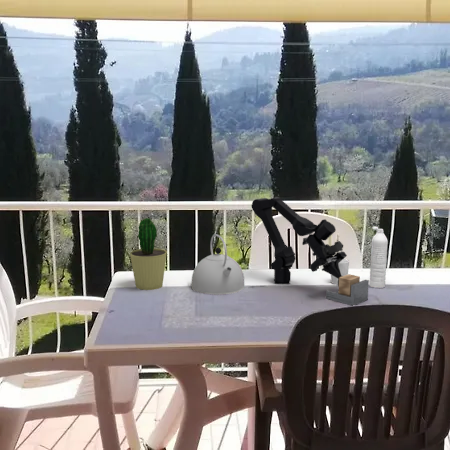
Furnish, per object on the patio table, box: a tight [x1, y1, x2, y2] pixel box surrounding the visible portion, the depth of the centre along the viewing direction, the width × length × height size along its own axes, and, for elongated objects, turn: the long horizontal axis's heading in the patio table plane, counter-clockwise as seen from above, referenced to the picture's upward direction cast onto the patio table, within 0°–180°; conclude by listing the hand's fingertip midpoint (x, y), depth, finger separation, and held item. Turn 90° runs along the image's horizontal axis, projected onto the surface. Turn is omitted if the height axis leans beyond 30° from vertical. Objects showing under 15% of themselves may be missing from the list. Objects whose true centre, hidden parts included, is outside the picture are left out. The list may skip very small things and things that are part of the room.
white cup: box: [330, 258, 350, 286], centre depth 240 cm, size 8×8×10 cm
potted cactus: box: [129, 217, 168, 291], centre depth 232 cm, size 15×15×30 cm
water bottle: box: [369, 226, 389, 289], centre depth 234 cm, size 9×6×25 cm
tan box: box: [337, 273, 361, 296], centre depth 218 cm, size 6×7×8 cm
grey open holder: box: [325, 279, 370, 306], centre depth 218 cm, size 13×10×8 cm
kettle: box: [190, 233, 246, 296], centre depth 231 cm, size 25×23×23 cm
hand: (340, 278), depth 219 cm, fingers closed, pressing on tan box
